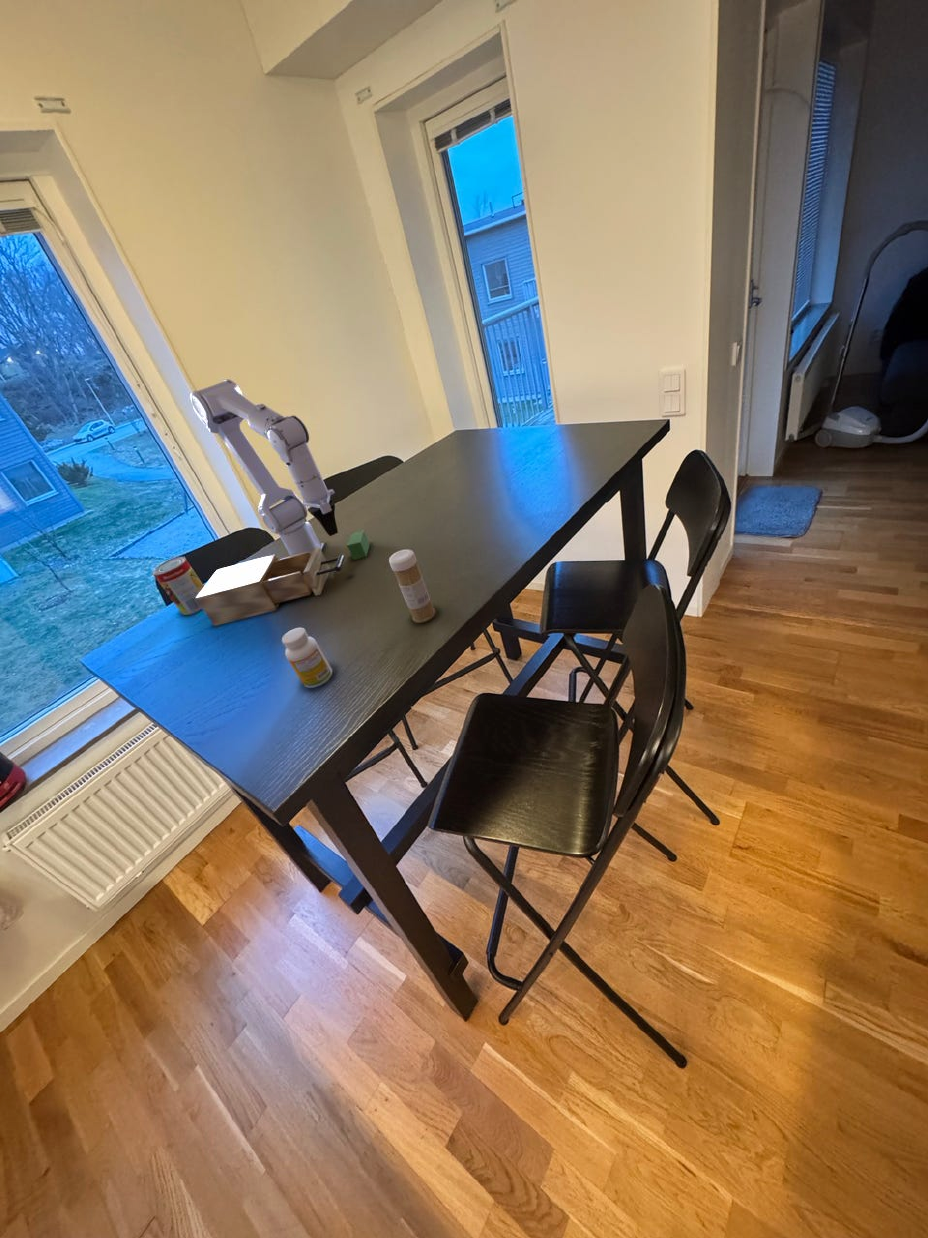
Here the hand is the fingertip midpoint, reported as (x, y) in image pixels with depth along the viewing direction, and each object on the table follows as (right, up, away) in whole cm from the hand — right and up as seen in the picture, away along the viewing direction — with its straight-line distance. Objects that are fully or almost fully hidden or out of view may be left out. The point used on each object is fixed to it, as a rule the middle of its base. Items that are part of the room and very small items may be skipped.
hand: (333, 533), depth 112 cm
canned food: (-37, -16, +11) cm, 42 cm away
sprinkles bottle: (+23, -19, -20) cm, 36 cm away
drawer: (-6, -12, +1) cm, 14 cm away
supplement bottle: (+5, -30, -27) cm, 41 cm away
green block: (+4, -3, +11) cm, 12 cm away
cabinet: (-20, -16, +4) cm, 26 cm away
